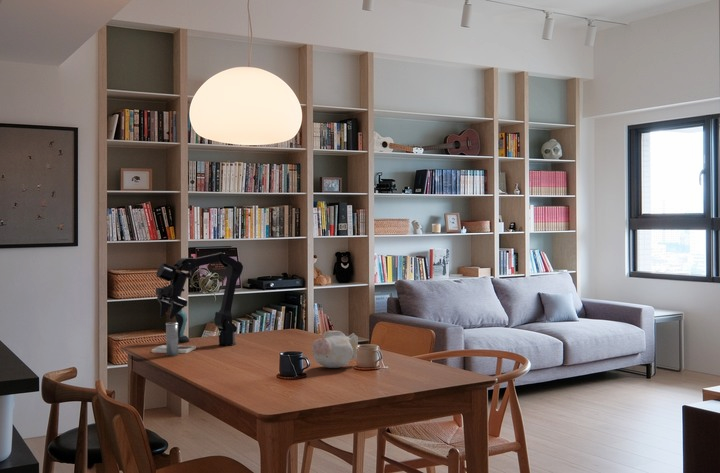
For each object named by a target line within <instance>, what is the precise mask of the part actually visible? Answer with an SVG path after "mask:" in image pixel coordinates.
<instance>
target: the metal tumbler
mask: <svg viewBox="0 0 720 473" xmlns="http://www.w3.org/2000/svg"><path fill="white" fill-rule="evenodd" d="M165 341H166V342H165V345H166V353H165V354H166V356H167V357H177V356H179V353H178V346H179V343H178V323H177V322H176V321H174V322H171V321H169V322H165Z"/></svg>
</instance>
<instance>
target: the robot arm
mask: <svg viewBox="0 0 720 473" xmlns="http://www.w3.org/2000/svg"><path fill="white" fill-rule="evenodd" d="M215 263H220V265H221V266H223V267H224V268H225V271H224V272H225V277H226V282H225V286H224V290H223V291H224V292H223V296H222V302H221V306H220V310H219V311H215V313H214V319H213V321H214V325H215V327H216V328H217V330H218V332H219V335H218V346H229V347H230V346H233V345H236V344H237V342H236V341H235V340H236V339H235V338H236V337H235V336H236V334H235V333H236V332H237V330H238V327H237V326H236V325H235V324H234V323H233V314H232V313H233V312H232V308H233V303H234V302H233V301H234V297H235V292H236V286H237V283H238V280H239V278H240V277H241V275H242V272H243V270H244V265H243V263H242V262H241V261H239V260H236V259H234V258H232V257H231V256H229V255H227V254H226V253H225V252H217V253H212V254H209V255H204V256H198V257H181V258H179V259H178V260H177V261H176V263H175V264H173V265H169V264H167V263H164V262H162V263H161V265H160V266H159V267H158V269H157V270H156V278H158V279H161V280H164V281H166V282H171V283H170V284H168V285H167V286H165V285H164V286H162V287H155V295H156V296H157V298H156V300H157V302H158V303H159V304H160V307H159V308H160V310H159V317H160V318H164V316H165V315H166V312H168V311H170V312H169V313H170V314H169V317H168V318H169V320H173V318H174V317H175V315H176V314H177V313H178V312H179V311H180V310H181V309H182V310H183V308H185V307H184V306H186V305H187V303H188V300H187V299H186V298H183V297H181V296H182V293H183V292H185V288H184V287H185V284H186V282H187V279H190V280H191V279H192V278H193V277H192V275H191V273H190V272H191V271H192V270H195V269H197V268H198V267H200V266H201V267H202V266H206V265H210V264H211V265H212V264H215ZM173 302H174V303H173ZM169 303H171V304H169ZM187 306H188V305H187ZM187 306H186V307H187ZM169 309H170V310H169Z"/></svg>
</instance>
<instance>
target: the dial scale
mask: <svg viewBox="0 0 720 473" xmlns="http://www.w3.org/2000/svg"><path fill="white" fill-rule="evenodd" d="M196 348H197V346H196V345H178V354H187V353H190V352H192V351H194V350H196ZM151 353H155V354H156V353H160V354H161V353H162V354H166V344H165V345H164V344H162V345H159V346H158V345H157V346H156V347H155V348H152V349H151Z"/></svg>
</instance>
